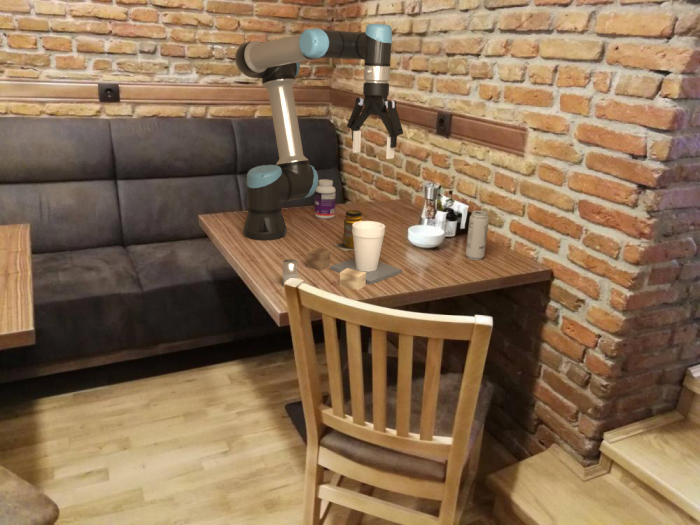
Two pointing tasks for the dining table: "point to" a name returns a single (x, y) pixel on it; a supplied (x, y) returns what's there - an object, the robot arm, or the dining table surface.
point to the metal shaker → (290, 269)
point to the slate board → (371, 276)
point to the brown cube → (318, 258)
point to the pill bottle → (325, 199)
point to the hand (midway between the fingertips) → (372, 155)
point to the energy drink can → (477, 235)
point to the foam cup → (367, 244)
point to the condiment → (349, 229)
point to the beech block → (352, 278)
